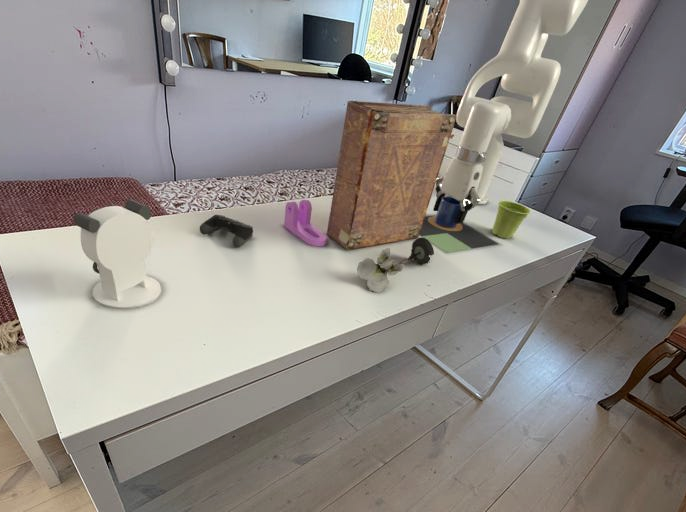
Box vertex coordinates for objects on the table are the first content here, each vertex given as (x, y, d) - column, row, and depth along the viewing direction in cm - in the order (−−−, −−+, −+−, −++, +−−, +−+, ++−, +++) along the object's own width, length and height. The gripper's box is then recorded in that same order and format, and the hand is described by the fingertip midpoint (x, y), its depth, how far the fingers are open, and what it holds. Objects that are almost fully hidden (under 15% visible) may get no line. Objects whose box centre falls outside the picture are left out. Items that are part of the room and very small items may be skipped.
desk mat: (396, 219, 118) (396, 219, 118) (447, 214, 128) (447, 214, 128) (446, 252, 105) (446, 252, 105) (499, 244, 115) (499, 244, 115)
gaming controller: (196, 233, 92) (198, 211, 90) (216, 230, 98) (219, 210, 96) (238, 249, 89) (241, 227, 86) (256, 245, 95) (259, 225, 93)
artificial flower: (433, 275, 97) (453, 244, 88) (367, 306, 86) (383, 275, 78) (410, 251, 100) (427, 219, 91) (343, 279, 89) (356, 246, 81)
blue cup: (429, 219, 122) (437, 196, 117) (445, 218, 125) (453, 195, 120) (444, 229, 118) (453, 205, 113) (460, 227, 121) (469, 204, 116)
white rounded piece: (134, 267, 78) (119, 190, 68) (176, 288, 74) (168, 210, 65) (78, 291, 69) (52, 207, 60) (123, 316, 66) (104, 231, 56)
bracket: (284, 226, 103) (286, 199, 98) (301, 223, 106) (304, 197, 101) (313, 247, 96) (317, 220, 91) (330, 244, 99) (335, 217, 94)
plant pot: (512, 231, 125) (525, 204, 119) (520, 243, 118) (535, 215, 112) (483, 226, 124) (495, 198, 119) (490, 238, 117) (503, 209, 112)
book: (396, 224, 115) (429, 105, 95) (418, 238, 109) (458, 115, 90) (326, 235, 102) (347, 100, 83) (346, 250, 97) (374, 110, 77)
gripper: (502, 165, 105) (476, 227, 116) (456, 146, 116) (437, 205, 127) (483, 166, 102) (458, 229, 113) (438, 146, 112) (420, 206, 123)
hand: (447, 216), depth 120 cm, fingers open, 9 cm apart
